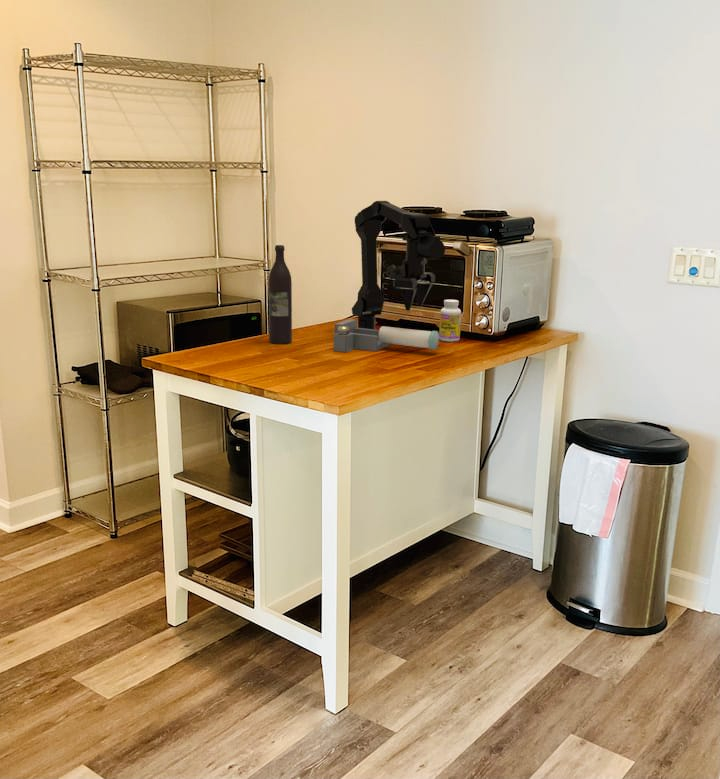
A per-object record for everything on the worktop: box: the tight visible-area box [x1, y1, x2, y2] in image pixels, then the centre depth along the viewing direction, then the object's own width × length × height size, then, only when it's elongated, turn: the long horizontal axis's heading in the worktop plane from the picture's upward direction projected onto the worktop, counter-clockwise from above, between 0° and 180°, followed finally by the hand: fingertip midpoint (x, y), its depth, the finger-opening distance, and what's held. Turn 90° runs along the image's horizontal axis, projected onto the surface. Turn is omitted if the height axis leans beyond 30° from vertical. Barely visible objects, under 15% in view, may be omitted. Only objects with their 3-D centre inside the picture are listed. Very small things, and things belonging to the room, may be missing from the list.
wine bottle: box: [268, 244, 293, 345], centre depth 250 cm, size 7×7×30 cm
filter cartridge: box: [378, 325, 440, 351], centre depth 243 cm, size 6×18×6 cm, turn 63°
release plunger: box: [338, 326, 349, 335], centre depth 243 cm, size 3×3×6 cm
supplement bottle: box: [438, 299, 462, 343], centre depth 260 cm, size 7×7×13 cm
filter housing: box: [333, 318, 390, 353], centre depth 247 cm, size 16×14×7 cm
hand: (413, 308), depth 247 cm, fingers open, 9 cm apart
